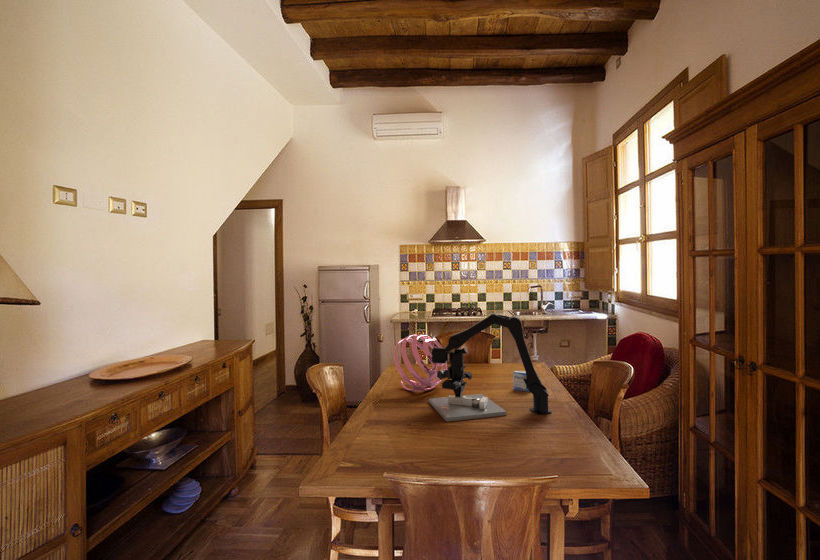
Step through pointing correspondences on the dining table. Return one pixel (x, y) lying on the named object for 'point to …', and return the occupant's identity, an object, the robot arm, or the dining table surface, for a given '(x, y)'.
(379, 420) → the dining table surface
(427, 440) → the dining table surface
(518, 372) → the medicine box
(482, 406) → the latch key
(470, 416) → the latch plate
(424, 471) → the dining table surface
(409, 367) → the pink spiral sphere sculpture
